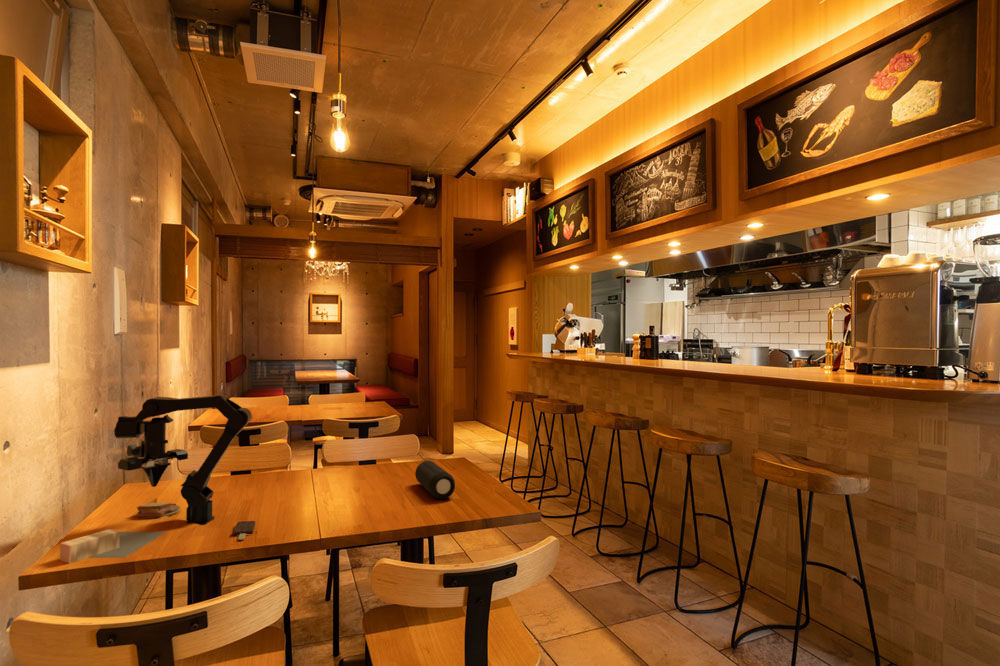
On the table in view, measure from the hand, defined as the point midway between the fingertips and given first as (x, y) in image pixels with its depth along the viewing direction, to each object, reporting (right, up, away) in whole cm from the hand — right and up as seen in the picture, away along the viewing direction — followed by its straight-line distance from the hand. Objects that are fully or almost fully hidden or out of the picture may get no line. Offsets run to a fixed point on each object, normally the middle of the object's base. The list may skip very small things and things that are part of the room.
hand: (153, 486), depth 170 cm
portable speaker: (+84, -14, +40) cm, 94 cm away
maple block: (+2, -9, -19) cm, 21 cm away
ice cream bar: (+31, -13, -6) cm, 35 cm away
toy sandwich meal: (-5, -13, +10) cm, 17 cm away
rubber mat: (+2, -12, -18) cm, 21 cm away
